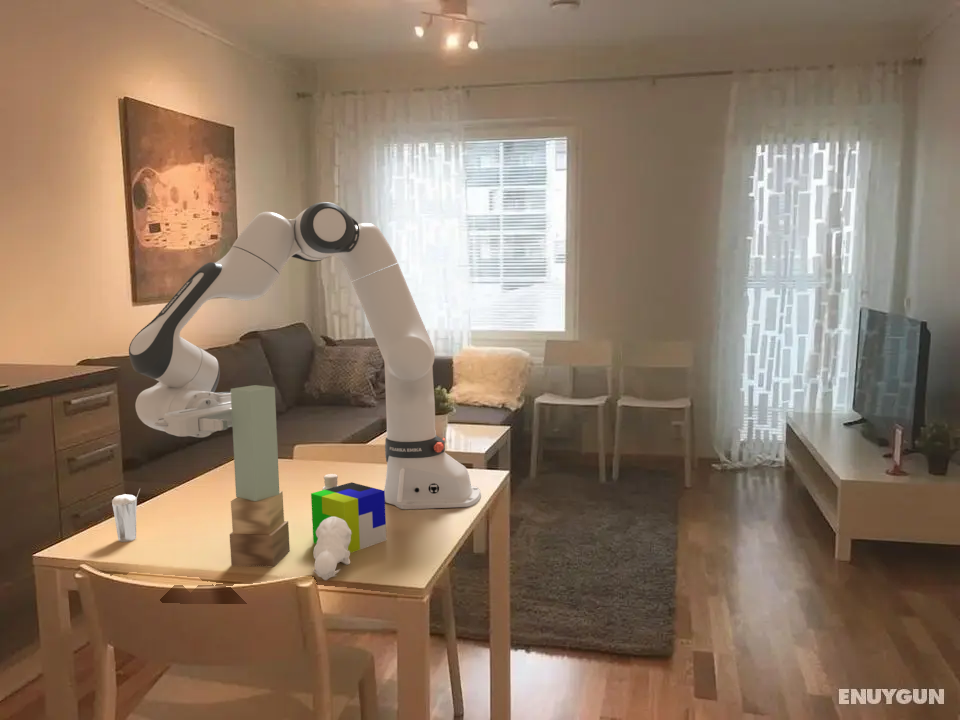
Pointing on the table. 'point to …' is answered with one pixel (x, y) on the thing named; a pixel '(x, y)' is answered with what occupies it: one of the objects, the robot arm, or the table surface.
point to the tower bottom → (260, 547)
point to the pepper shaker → (330, 481)
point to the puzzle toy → (352, 512)
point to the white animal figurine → (331, 546)
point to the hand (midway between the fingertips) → (245, 420)
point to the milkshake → (125, 516)
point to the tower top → (257, 515)
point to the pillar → (255, 442)
